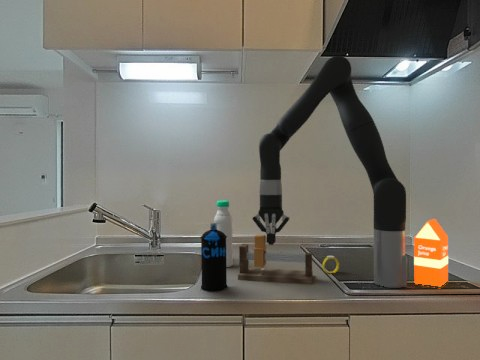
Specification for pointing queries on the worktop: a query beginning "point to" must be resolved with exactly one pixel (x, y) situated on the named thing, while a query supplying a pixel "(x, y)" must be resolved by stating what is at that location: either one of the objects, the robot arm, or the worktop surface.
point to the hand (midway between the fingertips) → (271, 244)
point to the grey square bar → (279, 257)
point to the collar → (259, 250)
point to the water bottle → (225, 228)
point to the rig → (274, 271)
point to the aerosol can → (213, 259)
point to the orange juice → (431, 255)
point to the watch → (325, 262)
